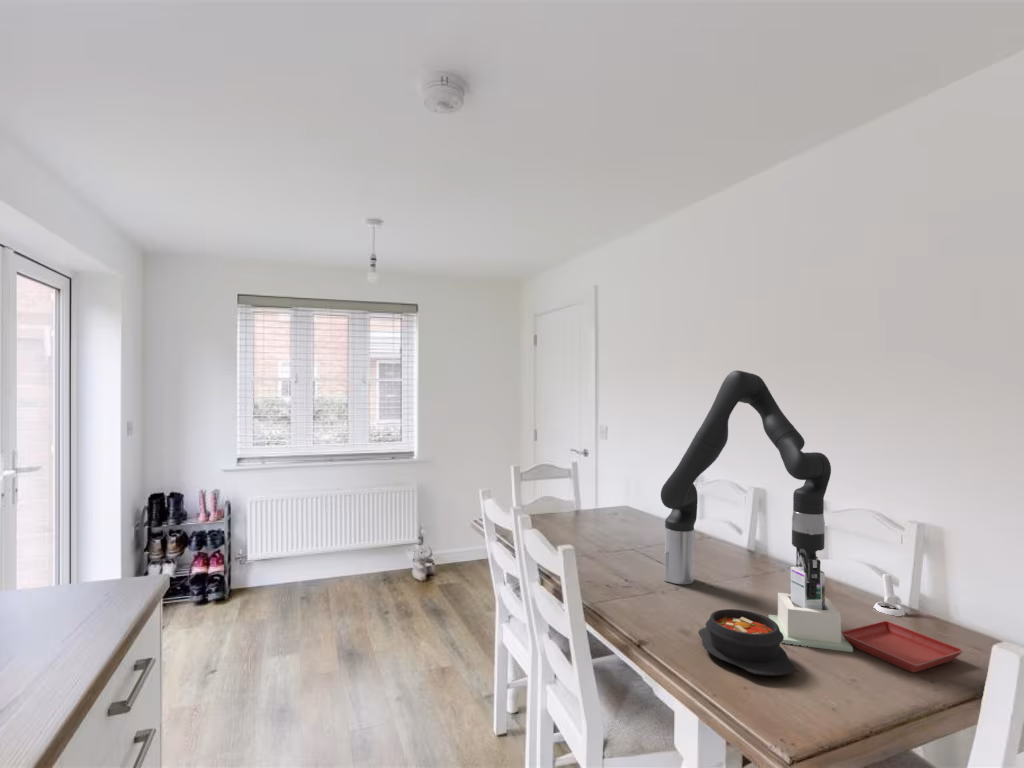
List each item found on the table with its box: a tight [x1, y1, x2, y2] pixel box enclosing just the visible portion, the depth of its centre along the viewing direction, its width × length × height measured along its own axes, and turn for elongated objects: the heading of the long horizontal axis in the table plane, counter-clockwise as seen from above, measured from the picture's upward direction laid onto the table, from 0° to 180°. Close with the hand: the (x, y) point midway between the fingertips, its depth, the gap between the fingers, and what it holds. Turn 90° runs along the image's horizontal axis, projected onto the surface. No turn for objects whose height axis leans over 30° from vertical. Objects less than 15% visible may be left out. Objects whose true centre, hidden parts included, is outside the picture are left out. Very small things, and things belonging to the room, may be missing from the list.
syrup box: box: [790, 566, 826, 610], centre depth 142 cm, size 6×6×14 cm
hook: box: [873, 573, 906, 617], centre depth 160 cm, size 8×12×7 cm
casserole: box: [698, 608, 796, 677], centre depth 129 cm, size 25×19×8 cm
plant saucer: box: [841, 620, 964, 673], centre depth 132 cm, size 18×18×3 cm
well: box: [767, 592, 854, 653], centre depth 142 cm, size 16×16×8 cm
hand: (807, 592), depth 142 cm, fingers closed on syrup box, 7 cm apart
